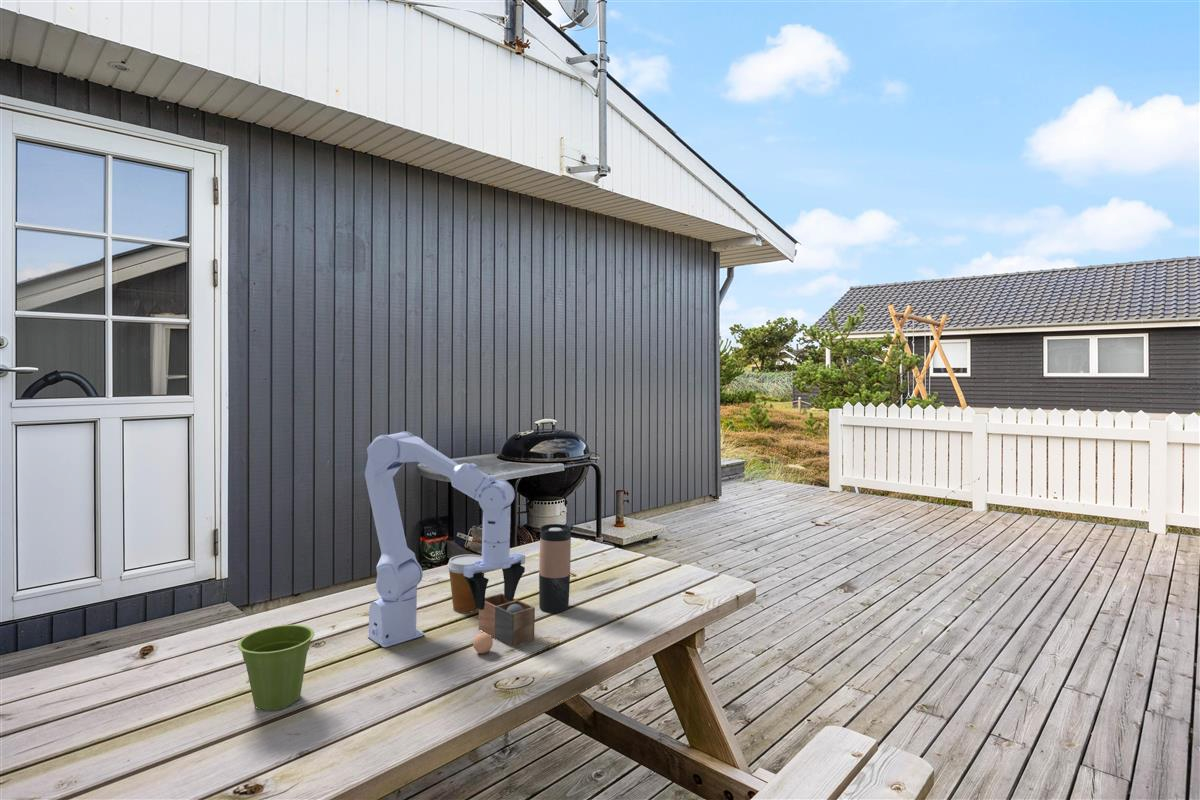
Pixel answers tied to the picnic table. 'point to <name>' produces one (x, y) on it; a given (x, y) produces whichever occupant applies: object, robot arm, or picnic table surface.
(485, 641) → the terracotta ball
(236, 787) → the picnic table surface
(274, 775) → the picnic table surface
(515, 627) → the divided wooden sorting box
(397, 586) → the robot arm
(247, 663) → the plant pot
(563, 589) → the travel mug
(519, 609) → the charcoal ball
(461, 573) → the disposable coffee cup
